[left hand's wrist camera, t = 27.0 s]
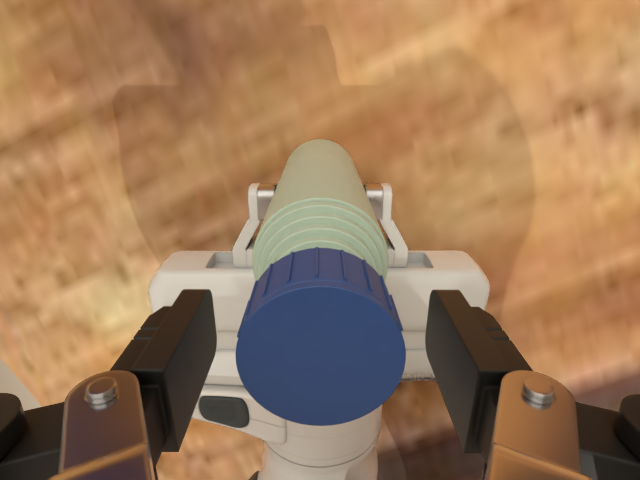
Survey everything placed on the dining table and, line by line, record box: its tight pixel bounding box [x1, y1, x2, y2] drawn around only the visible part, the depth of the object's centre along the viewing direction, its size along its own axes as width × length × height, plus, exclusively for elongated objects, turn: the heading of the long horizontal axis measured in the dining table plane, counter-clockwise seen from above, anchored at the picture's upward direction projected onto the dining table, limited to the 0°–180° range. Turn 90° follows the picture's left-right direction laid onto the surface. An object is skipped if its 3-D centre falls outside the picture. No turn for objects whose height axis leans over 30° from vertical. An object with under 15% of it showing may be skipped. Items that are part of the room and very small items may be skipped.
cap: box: [236, 247, 406, 426], centre depth 11 cm, size 4×4×2 cm
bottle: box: [252, 139, 389, 282], centre depth 20 cm, size 5×5×20 cm
